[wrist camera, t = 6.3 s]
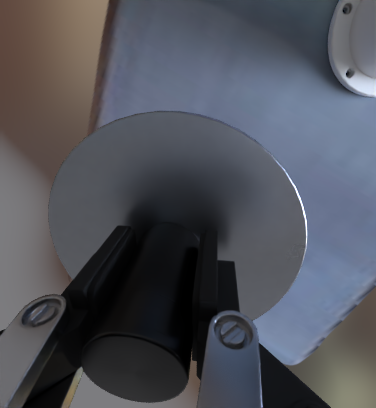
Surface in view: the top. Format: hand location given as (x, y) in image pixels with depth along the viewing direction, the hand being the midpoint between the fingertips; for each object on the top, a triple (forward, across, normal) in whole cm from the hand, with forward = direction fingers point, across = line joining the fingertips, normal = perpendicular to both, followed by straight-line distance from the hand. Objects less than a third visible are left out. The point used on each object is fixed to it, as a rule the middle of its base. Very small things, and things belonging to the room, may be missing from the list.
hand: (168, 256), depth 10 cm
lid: (+1, 0, 0) cm, 1 cm away
